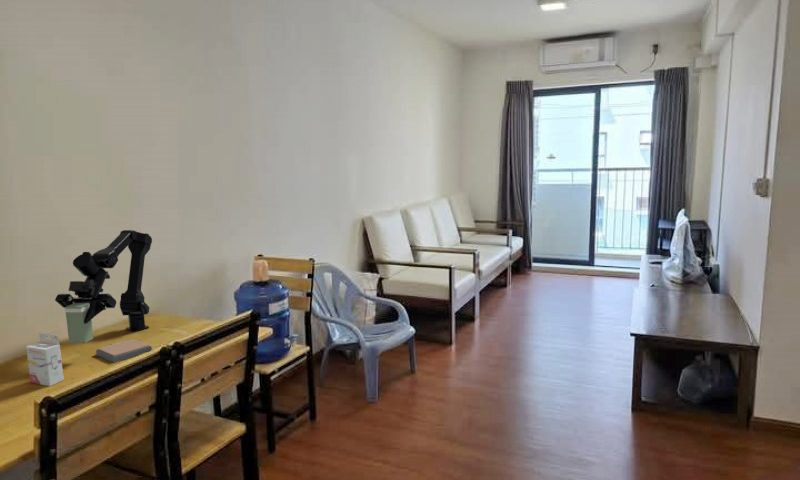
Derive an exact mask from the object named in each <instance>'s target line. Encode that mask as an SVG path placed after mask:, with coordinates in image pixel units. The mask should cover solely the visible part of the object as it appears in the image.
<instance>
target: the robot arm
mask: <svg viewBox="0 0 800 480" xmlns="http://www.w3.org/2000/svg"><path fill="white" fill-rule="evenodd" d="M152 243H153V238H152V236H150V234H149V233H144V232H143V233H142V232H140V231H139V232H138V231H136V230H133V229H127V230H126V229H124V230H122V231H120V233H119V235H118V236H116V237H115V239H114V240H112V242H110V244H108V246H107V247H105V248H103V249H100V250H97V251H96V252H94V253H93V254H91V252H90V251H83V252H82V254H80V255H77V256H76V257H75V258H74V259H73V261H72V266H73V267H74V268H75V269H76V270H77V271H79V273H80V274H81V275H82V276H85V277H86V278H85V280H84V281H82V280H81V281H80V280H77V281H76V280H75V281H74V280H73V281H72V280H70V282H69V285H68V292H74V295H75V296H77V297H73V296H72V294H70V293H58V294H57V295H56V296H55V299H54V301H55V302H56V303H58V304H59V305H60V306H61V307H62V308H64V309H65V307H66V306H69V305H71V304H74V303H90V307H89V310H88V312H87V314H86V317H85V320H84V323H85V324H86V323H88V322H89V321H90V320H91V321H92V320H93V319H94V318H95V317H97V315H99V314H100V313H101V312H103V311H106V310H107V309H115V308H116V305H117V300H116V298H114V297H113V296H112V294H110V293H103V292H104V289H103V286H104V283H105V281H106V280H108V279H111V275H110V273H109V271H107V270H106V269H113V268H115V266H116V264H117V263H118V261H119V256H120V255H121V253H122V252H124V250H125V249H126V248H128V251H130V254H131V255H130V264H129V265H130V266H129V275H128V280H127V281H128V282H127V287H126V288H127V289H126V290H125V292H122V293H121V294H120V300H119V309H120V311H121V314H122V316H128V325H129V327H126V328H125V330H127V331H131V332H139V331H142V330H145V329H149V328H150V326H149V325H146V321H145V320H146V319H145V315H148V314H149V313H150V306H149V305H148V304H147V303H146V302H145V295H144V294H143V292H142V285H143V283H142V282H143V274H144V268H145V266H144V265H145V260H146V259H145V258H146V255H147V254H148V253H149V251H150V249H151V247H152Z"/></svg>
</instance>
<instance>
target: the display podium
mask: <svg viewBox="0 0 800 480" xmlns="http://www.w3.org/2000/svg"><path fill="white" fill-rule="evenodd" d="M152 348H153V347H152V345H150V344H147V343H144V342H141V341H140V340H136V339H134V338H131V339H126V340H124V341H120V342H117V343H113V344H110V345H107V346H106V345H105V346H102V347H98V348H97V349H95V354H96V356H98V357H101V358H103V359H105V360H107V361H110V362H112V363H114V364H115V363H117V362H121V361H125V360H127V359H132V358H135V357H137V355H138V356H140V355H139V354H141V355H143V354H142V353H145V352H148V351H151V350H152V351H153V349H152ZM152 351H151V352H152ZM148 353H149V352H148ZM145 354H146V353H145Z"/></svg>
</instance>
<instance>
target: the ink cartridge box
mask: <svg viewBox="0 0 800 480" xmlns="http://www.w3.org/2000/svg"><path fill="white" fill-rule="evenodd" d="M38 335H39V336H38V337H39V339H40V341H39V342H37V343H36V342H35V343H33V344H28V345H27V346H26V347H25V348H26V349H25V350H26V356H27V365H28V373H29V381H30V383H32V384H37V385H41V386H47V387H51V386H53V385H55V384H58V383H60V382H62V381H64V378H65V377H64V369H63V361H62V354H61V345H60V342H59V337H58V335H57V334H52V333H47V332H45V333H44V332H39V333H38ZM48 337H49V338H48Z"/></svg>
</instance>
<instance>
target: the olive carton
mask: <svg viewBox="0 0 800 480" xmlns="http://www.w3.org/2000/svg"><path fill="white" fill-rule="evenodd" d="M89 307H90V303H74V304H71V305H69V306H66V307H65V308H64V311H65V319H66V327H67V335H68V342H69V344H86V343H88V342H90V341H91V340H93V339H94V331H93V321H92V319H91V320H90V321H89V322H88V323H86V324H85V323H84V320H85V317H86V314H87V312H88V310H89Z"/></svg>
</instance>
